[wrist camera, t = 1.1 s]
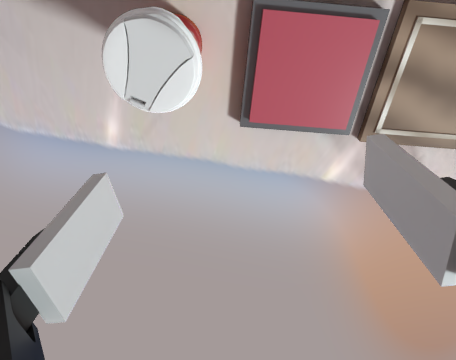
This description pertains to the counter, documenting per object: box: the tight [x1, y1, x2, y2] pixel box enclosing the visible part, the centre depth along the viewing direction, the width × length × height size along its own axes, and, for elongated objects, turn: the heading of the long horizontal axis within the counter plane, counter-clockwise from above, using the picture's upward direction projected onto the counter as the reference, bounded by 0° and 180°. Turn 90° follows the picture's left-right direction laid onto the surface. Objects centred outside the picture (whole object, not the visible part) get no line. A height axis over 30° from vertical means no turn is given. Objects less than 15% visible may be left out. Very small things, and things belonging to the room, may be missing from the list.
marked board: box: [357, 0, 456, 149], centre depth 35 cm, size 16×16×1 cm
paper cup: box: [102, 6, 202, 113], centre depth 28 cm, size 8×8×14 cm
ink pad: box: [240, 0, 390, 135], centre depth 34 cm, size 14×14×2 cm
